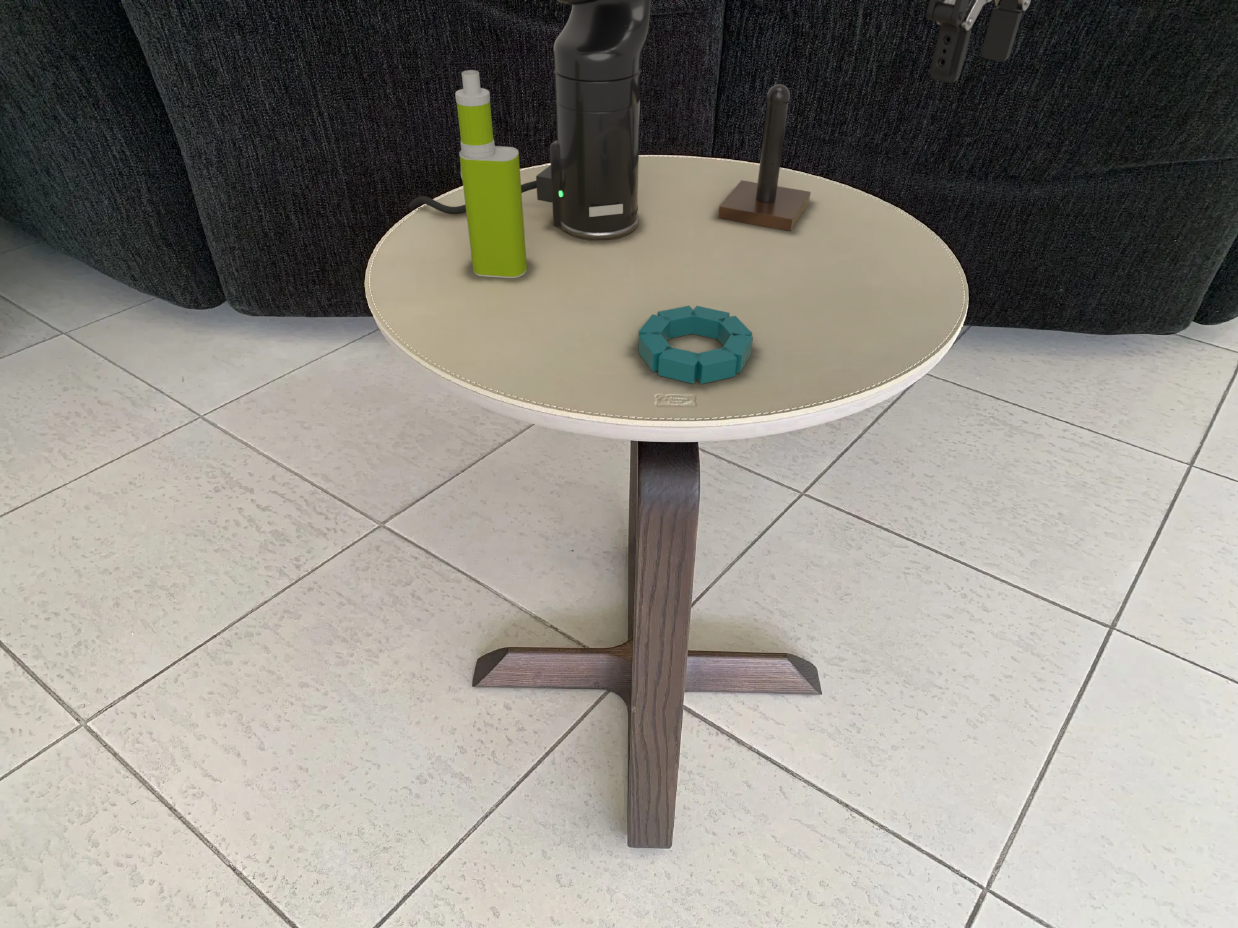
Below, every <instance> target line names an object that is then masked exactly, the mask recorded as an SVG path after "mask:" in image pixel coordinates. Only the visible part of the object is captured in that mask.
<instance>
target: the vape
mask: <svg viewBox="0 0 1238 928" xmlns="http://www.w3.org/2000/svg"><path fill="white" fill-rule="evenodd" d="M461 79H462V80H461V81H462V88H461V89H458V90H457V91H455V92H454V93H455V96H454V97H455V102H456V110H457V117H458V126H459V135H460V149H461V150H460V151H459V152H458V153H459V154H458V155H459V163H460V177H461V180H462V188H463V196H464V205H466V212H465V213H466V222H467V229H468V238H469V247H470V255H471V264H472V271H473V274H474V275H476V276H479V277H488V278H501V279H502V278H505V279H517V278H520V277H522V276H524V275H525V274H526V273H527V270H528V264H527V249H526V248H527V247H526V236H525V223H524V222H525V221H524V220H525V219H524V209H523V196H522V195H523V193H521V185H522V180H521V179H522V178H521V167H520V153H519V149H517V148H516V147H513V146H497V145H496V144H495V139H494V133H493V131H494V130H493V119H492V108H491V95H490V91H489V89H486V88H483V87H481V81H480V80H481V78H480V72H479V71H478V70H475V69H474V70H473V69H468V70H464V71H462V72H461Z"/></svg>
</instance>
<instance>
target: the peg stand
mask: <svg viewBox="0 0 1238 928" xmlns="http://www.w3.org/2000/svg"><path fill="white" fill-rule="evenodd" d="M790 99H791V92H790V89H789V88H788V87H787V86H786V85H784V84H781V83H780V84H779V83H778V84H774V85H772V86H771V87H770V88H769V89H768V91H767V94H766V108H765V114H764V115H765V117H764V125H763V134H762V142H761V150H760V158H759V159H760V160H759V166H758V167H759V169H758V177H757V182H754V181H748V180H743V179H741V180H740V181H739V183H737V185H736V186H735V187H734V188H733V190H732V191H731V192H730V193H729V194H728V195H727V197H725V199H724V200H723V201H722V203H720V205H719V206H718V216H717V218H718V219H722V220H727V221H732V222H737V223H744V224H749V225H755V226H759V227H765V228H772V229H777V230H781V231H787V232H792V230H793V228H794V227H795V225H796V224H797V222H798V220H799V219H800V218H801V216H802V214H803V213H804V211H805V210H806V209H807V207H808V205H809V203H810V198H811V191H809V190H803V189H796V188H791V187H785V186H778V185H779V178H780V169H781V162H782V154H783V148H784V147H783V145H784V138H785V132H786V131H785V130H786V125H787V124H786V123H787V117H788V109H789V102H790Z"/></svg>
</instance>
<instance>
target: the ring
mask: <svg viewBox="0 0 1238 928" xmlns="http://www.w3.org/2000/svg"><path fill="white" fill-rule="evenodd" d="M689 335H697V336H701V337H705V338H709V339H714V340H717V341H718V342H719V343H720V344H721V346H722V347H720V348H715V349H710V350H706V351H701V352H694V351H689V350H687V349H686V350H685V349H682V348H678V347H673V346H671V344H669V342H668V341H669V340H670V339H674V338H678V337H685V336H689ZM753 340H754V336H753V332H752V331H751V330H750V329H749V328H748V326H746V325H745V324H744V323H743V322H742V321H741V320H740V319H739V318H738V317H737V315H731V316H730V312H728V311H723V310H718V309H714V308H711V307H710V308H709V307H705V306H700V305H696V306H695V307H694V308H692V307H691V306H690V305H685V306H680V307H673V308H670V309H665V310H659V311H657V314H653V313H652V314H651V315H650V317H649V318H648V319H647V320H646V321H645V323H644V324H643V325H642V326H641V327H640V328H639V330H638V346H637V347H638V355H639V356H640V357H641V359H642V360H643V361H644V363H645V364H646V366H647V367H648V368H649V369H650V371H651V372H653V373H654V372H657V375H658V376H660V377H664V378H667V379H671V380H676V381H679V382H684V383H689V384H692V385H693V384H695V382H696V381H698V382H699V383H700V384H701V385H704V384H708V383H711V382H717V381H721V380H725V379H729V378H734V377H736V373H737V374H741V373H742V370H743V369H744V367H745V365H746V364H747V362H748V360H749V359H750V357H751V355H752V348H753Z"/></svg>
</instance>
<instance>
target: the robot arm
mask: <svg viewBox="0 0 1238 928" xmlns="http://www.w3.org/2000/svg"><path fill="white" fill-rule="evenodd" d="M557 1H558V2H559V3H562V4H565V5H569V6H572V7H571V11H570V14H569V17H568V20H567V22H566V24H565V25H564V27H563V29H562V30H561V32H560V33H559V35H558V36H557V37H556V39H555V41H554V43H553V49H552V50H553V51H552V53H553V54H552V59H553V79H554V81H553V82H554V103H555V129H556V140H554V141H553V142H552V143H551V144H550V146H549V160H550V161H549V162H550V165H549V166H548V167H545V168H544V169H543V170H542V171H541V172H540V173H538V174H537V175H536V176H535V180H532V181H529V182H525V183H523V184H522V183H521V193H522V194H523V193H525V192H528V191H532V190H535V189H536V199H537V201H542V202H546V203H551V205H552V220H553V226H554V227H558V228H561V229H562V230H563V231H564V232H565V233H567V234H569V235H571V236H574V237H577V238H582V239H587V240H610V239H615V238H620V237H623V236H626V235H628V234H630V233H632V232H634V231H635V230H636V229H637V227H638V225H639V214H638V213H639V203H638V202H639V167H640V166H639V165H640V163H639V160H640V154H639V153H640V114H641V112H640V111H641V108H640V107H641V68H642V67H641V66H642V65H641V64H642V55H643V50H644V48H645V46H646V42H647V39H648V35H649V29H650V23H651V22H650V20H651V7H652V5H651V4H652V0H557ZM992 1H993V0H929V1H928V6H927V10H926V19H927V20H929V21H935V22H936V24H937V25H939V32H938V36H937V40H936V44H935V48H934V53H933V57H932V61H931V64H930V69H929V77H930V78H931V79H932V80H935V81H940V82H945V83H948V84H950V83H954V82H956V81H957V80H959V78H960V76H961V73H962V69H963V67H964V66H963V65H964V62H965V58H966V53H967V50H968V46H969V43H970V39H971V34H972V31H973V30H971V29H972V27H973V25H974V23H975V22H976V20H977V18H978V17H979V14H980V12H981V10H982V8H983V6H985V5H986V4H988V3H990V2H992ZM1031 1H1032V0H994V5H995V6H996V7H993V8H992V11H991V14H990V18H989V22H988V25H987V29H986V33H985V37H984V40H983V44H982V48H981V50H980V51H981V52H980V54H981V58H983V59H985V60H990V61H995V62H999V63H1000V62H1001V63H1002V62H1004V61H1006V60H1008V59H1009V58H1010V56H1011V54H1012V49H1013V46H1014V43H1015V39H1016V37H1017V34H1018V30H1019V26H1020V23H1021V19H1022V16H1023V13H1024V12H1026V11H1027V9H1028V8H1029V6H1030V4H1031ZM421 205H427V206H429V207H431V208H433V209H434V210H436V211H439V212H441V213H444V214H447V215H462V214H465V213H466V205H465V204H463V205H459V206H449V205H446V204H443V203H441V202H440V201H437V200H435V199H433V198H431V197H429V196H426V195H421V196H417V197H415V198H413V199H412V200H411V201H410V203H409V204H408V205H407V206H408V208H410V209H415V208H418V207H419V206H421Z"/></svg>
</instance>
